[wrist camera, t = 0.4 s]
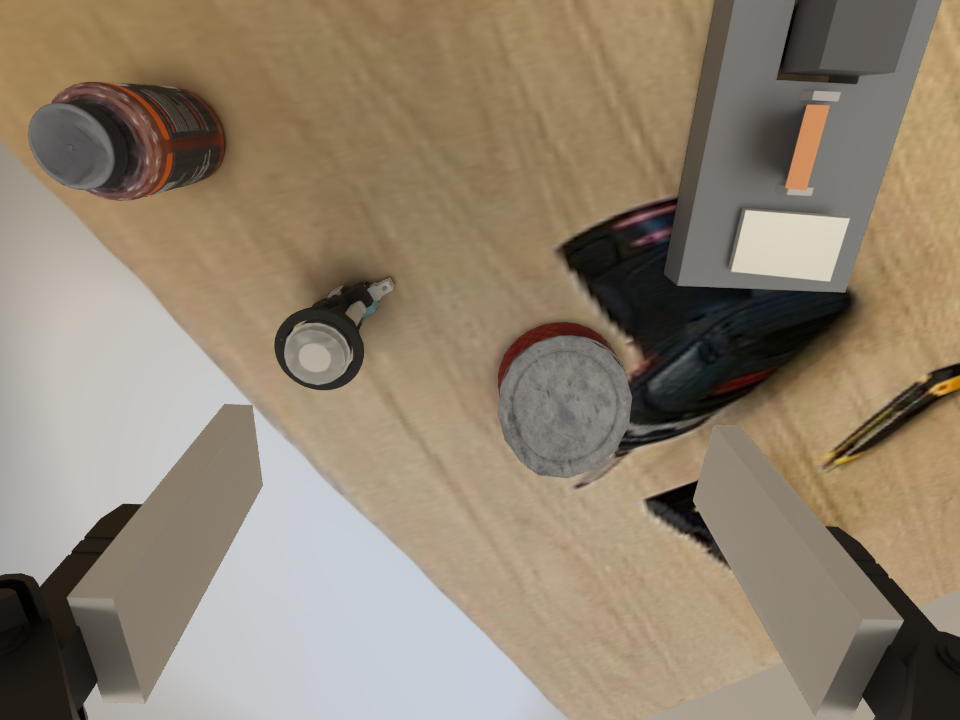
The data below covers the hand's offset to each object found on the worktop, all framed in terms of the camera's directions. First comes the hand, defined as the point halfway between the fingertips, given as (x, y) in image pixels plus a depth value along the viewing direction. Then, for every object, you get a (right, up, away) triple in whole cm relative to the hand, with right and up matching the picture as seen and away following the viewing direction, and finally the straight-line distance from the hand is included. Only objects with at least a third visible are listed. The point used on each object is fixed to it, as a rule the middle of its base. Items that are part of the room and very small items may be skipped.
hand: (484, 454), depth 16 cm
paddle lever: (+20, +16, +18) cm, 32 cm away
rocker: (+20, +10, +20) cm, 30 cm away
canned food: (+6, +1, +29) cm, 30 cm away
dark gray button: (+20, +22, +17) cm, 34 cm away
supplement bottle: (-20, +18, +21) cm, 34 cm away
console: (+20, +21, +20) cm, 35 cm away
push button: (-10, +7, +26) cm, 29 cm away
